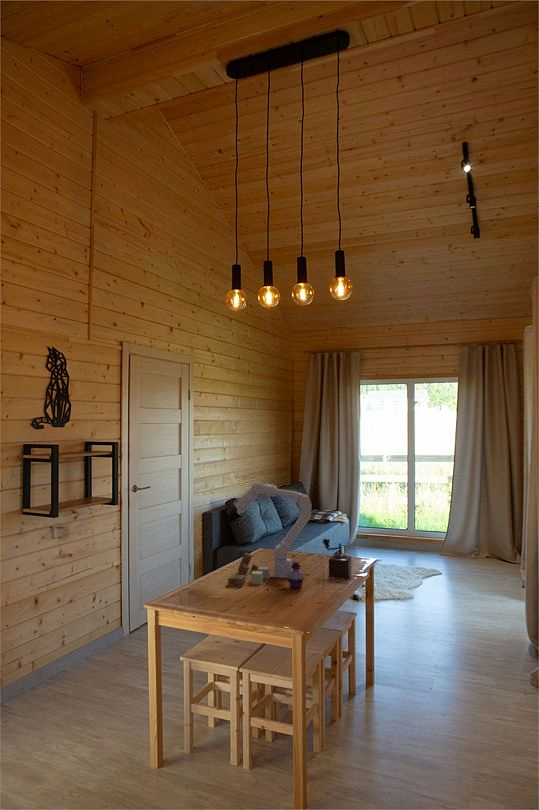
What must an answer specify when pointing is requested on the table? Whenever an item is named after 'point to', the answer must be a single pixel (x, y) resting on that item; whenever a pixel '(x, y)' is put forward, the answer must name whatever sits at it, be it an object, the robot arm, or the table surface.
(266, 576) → the slate cube
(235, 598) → the table surface
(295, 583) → the potion bottle
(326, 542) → the manual coffee grinder
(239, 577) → the walnut base
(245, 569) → the wooden block set
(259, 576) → the sage cube
